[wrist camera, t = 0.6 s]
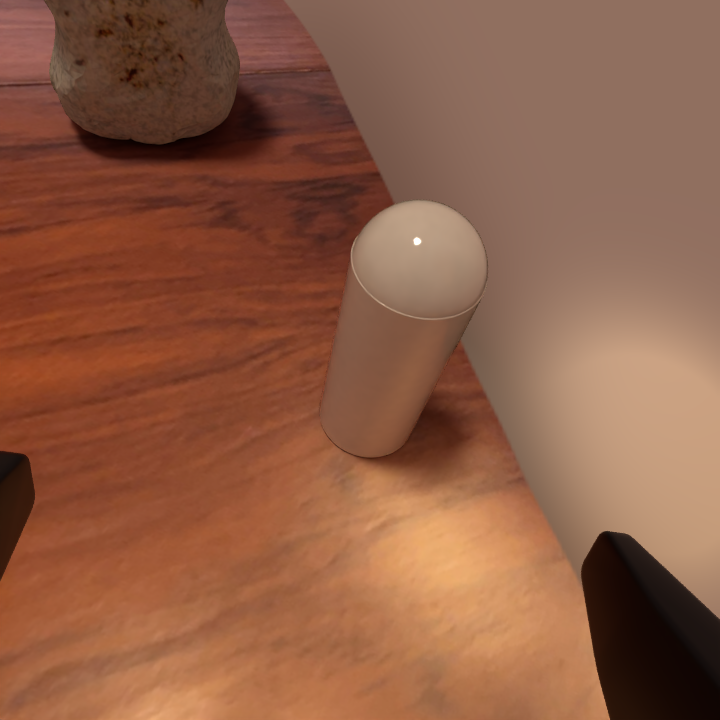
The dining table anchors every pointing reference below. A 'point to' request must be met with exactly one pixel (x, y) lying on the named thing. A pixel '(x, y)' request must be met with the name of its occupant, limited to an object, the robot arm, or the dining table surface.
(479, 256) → the dome-capped cylinder
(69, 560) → the dining table surface
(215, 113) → the stone
